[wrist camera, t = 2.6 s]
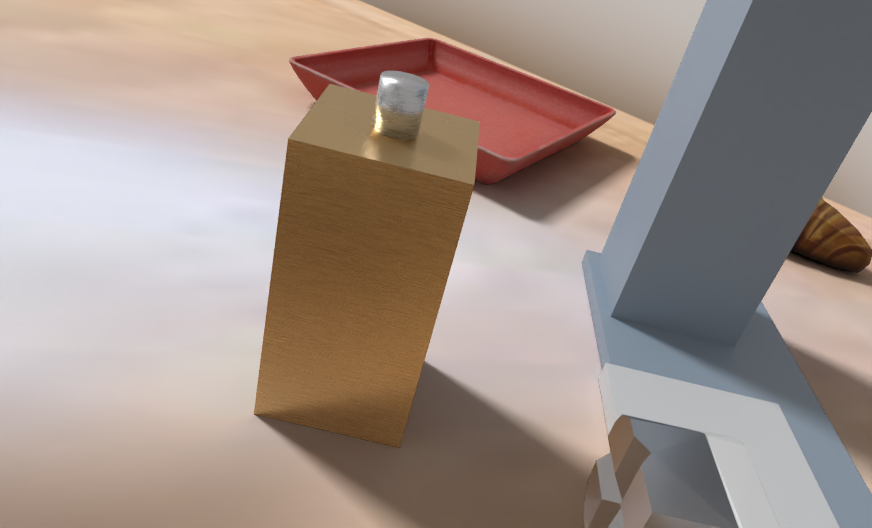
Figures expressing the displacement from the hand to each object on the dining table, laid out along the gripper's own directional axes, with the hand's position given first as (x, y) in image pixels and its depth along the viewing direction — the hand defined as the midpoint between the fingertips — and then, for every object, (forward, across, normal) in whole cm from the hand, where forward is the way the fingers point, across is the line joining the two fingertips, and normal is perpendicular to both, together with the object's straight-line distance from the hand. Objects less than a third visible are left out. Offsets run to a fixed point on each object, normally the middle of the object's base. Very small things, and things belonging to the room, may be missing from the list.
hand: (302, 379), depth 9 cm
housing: (+13, 0, +11) cm, 17 cm away
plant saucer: (+43, -2, +11) cm, 44 cm away
